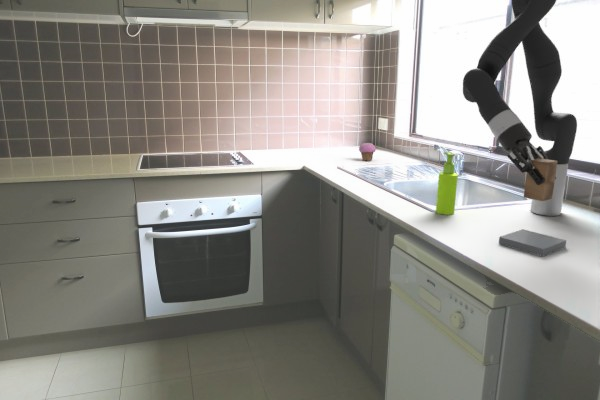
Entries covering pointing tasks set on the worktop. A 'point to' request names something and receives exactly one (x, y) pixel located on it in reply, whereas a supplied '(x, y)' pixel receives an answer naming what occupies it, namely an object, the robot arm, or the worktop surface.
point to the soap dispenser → (447, 187)
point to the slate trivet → (532, 242)
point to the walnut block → (546, 188)
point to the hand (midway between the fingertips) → (547, 181)
